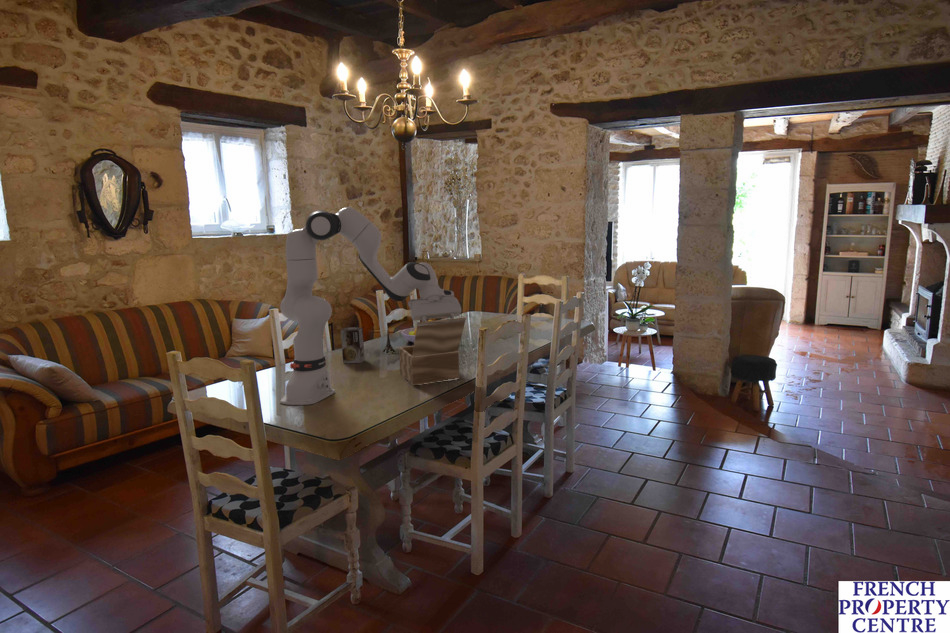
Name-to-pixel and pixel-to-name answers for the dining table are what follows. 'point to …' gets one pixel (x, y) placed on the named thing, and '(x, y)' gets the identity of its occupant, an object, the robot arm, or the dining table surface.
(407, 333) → the fruit bowl
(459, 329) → the carton flap
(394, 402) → the dining table surface
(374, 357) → the dining table surface
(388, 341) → the eiffel tower figurine
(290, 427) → the dining table surface
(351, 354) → the coffee box
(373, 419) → the dining table surface
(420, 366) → the carton
